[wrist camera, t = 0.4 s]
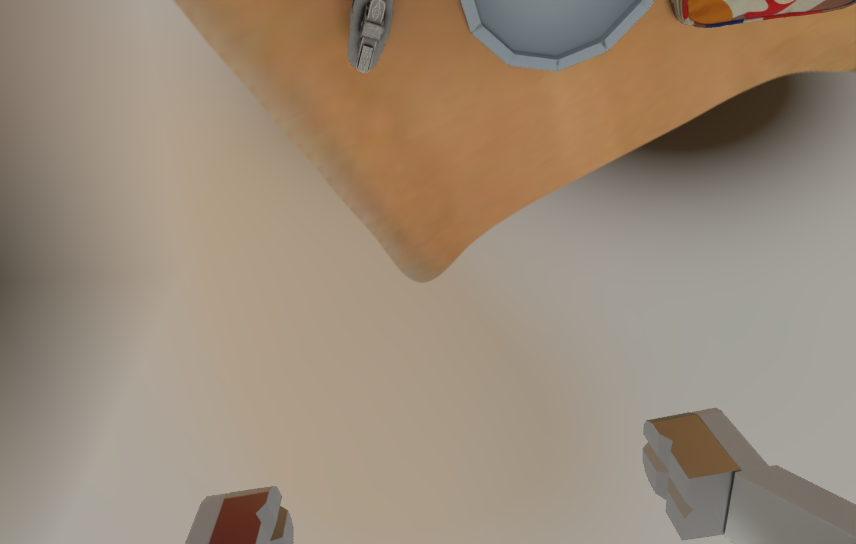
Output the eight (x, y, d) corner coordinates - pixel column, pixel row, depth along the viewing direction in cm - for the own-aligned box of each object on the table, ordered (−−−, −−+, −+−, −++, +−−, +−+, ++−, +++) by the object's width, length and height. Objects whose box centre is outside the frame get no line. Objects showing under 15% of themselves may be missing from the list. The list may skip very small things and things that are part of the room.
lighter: (362, -53, 46) (361, -23, 39) (398, -40, 47) (403, -8, 40) (344, 35, 51) (340, 76, 44) (376, 45, 52) (378, 87, 45)
